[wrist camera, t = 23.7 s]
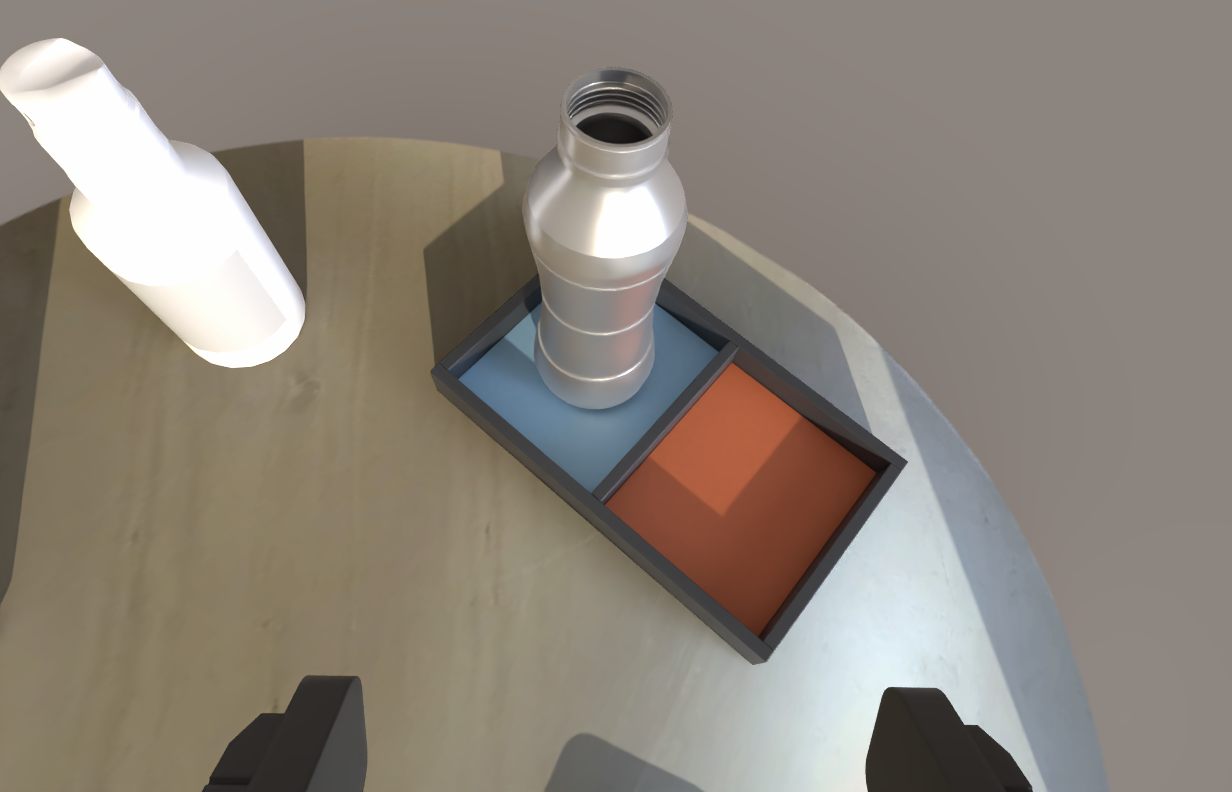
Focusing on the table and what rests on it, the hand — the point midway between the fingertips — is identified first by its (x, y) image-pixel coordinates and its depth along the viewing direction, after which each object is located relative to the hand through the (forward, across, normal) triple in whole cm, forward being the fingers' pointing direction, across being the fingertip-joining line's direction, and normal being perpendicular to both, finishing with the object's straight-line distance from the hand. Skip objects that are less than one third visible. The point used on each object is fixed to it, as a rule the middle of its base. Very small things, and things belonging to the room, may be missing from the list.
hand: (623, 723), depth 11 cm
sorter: (+29, -4, +8) cm, 31 cm away
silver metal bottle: (+31, 0, +5) cm, 32 cm away
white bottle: (+34, +20, +4) cm, 39 cm away
